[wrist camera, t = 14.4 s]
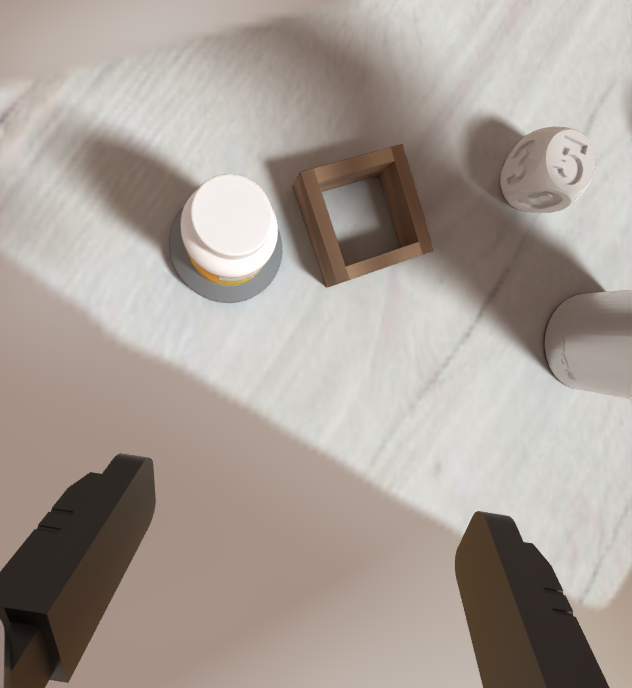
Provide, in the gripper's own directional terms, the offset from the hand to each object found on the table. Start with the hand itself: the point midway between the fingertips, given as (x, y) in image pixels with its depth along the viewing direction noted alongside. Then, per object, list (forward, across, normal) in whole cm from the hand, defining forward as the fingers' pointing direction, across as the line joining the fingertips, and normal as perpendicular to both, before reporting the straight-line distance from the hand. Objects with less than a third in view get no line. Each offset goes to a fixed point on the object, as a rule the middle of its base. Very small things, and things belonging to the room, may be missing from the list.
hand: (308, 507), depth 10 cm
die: (+33, -16, -7) cm, 37 cm away
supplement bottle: (+22, +8, 0) cm, 23 cm away
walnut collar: (+26, -1, -2) cm, 26 cm away
